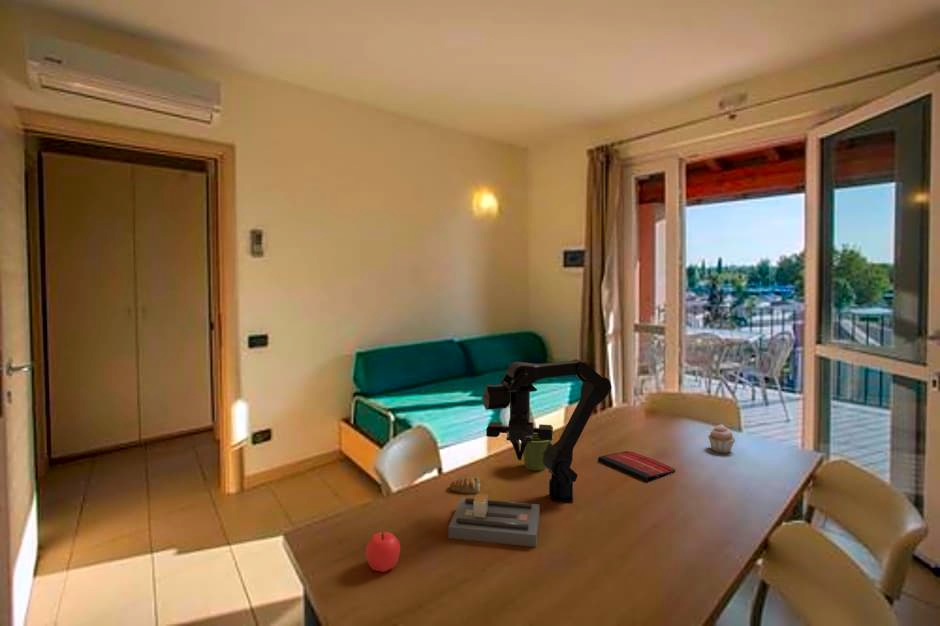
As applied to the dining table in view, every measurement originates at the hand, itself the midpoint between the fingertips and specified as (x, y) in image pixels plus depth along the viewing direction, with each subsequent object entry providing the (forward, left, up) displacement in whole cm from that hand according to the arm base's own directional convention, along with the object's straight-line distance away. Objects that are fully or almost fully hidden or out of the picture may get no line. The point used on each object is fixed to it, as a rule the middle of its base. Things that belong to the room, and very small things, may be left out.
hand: (519, 459), depth 141 cm
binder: (-37, -34, -14) cm, 52 cm away
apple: (+28, +36, -13) cm, 47 cm away
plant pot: (-3, -27, -13) cm, 30 cm away
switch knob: (+9, +14, -10) cm, 19 cm away
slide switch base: (+5, +14, -13) cm, 20 cm away
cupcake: (-70, -55, -13) cm, 90 cm away
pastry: (+17, -6, -14) cm, 22 cm away
